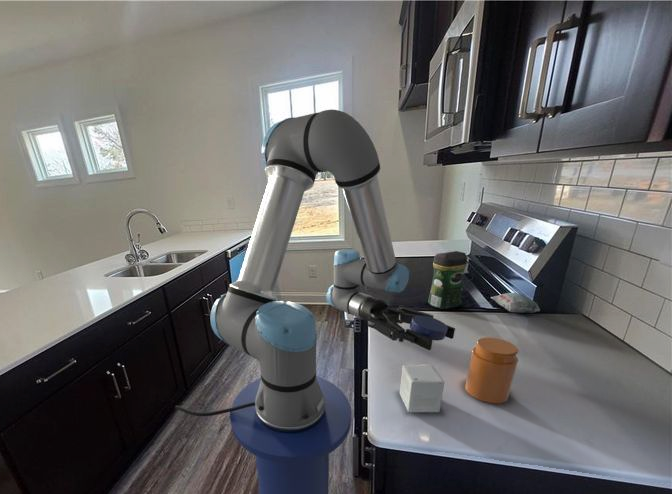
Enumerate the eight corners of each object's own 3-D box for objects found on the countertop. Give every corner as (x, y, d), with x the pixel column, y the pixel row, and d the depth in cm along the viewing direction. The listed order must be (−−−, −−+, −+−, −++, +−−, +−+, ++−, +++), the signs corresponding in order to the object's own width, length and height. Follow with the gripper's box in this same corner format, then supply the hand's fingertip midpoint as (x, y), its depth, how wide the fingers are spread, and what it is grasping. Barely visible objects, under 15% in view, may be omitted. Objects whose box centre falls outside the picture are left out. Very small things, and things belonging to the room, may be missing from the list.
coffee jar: (445, 299, 114) (453, 248, 107) (464, 306, 106) (473, 252, 100) (423, 303, 111) (429, 251, 104) (440, 311, 104) (448, 256, 97)
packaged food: (508, 317, 98) (512, 302, 96) (489, 302, 109) (492, 289, 107) (539, 317, 96) (543, 302, 95) (516, 302, 107) (520, 289, 105)
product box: (440, 413, 62) (445, 382, 59) (407, 413, 62) (411, 382, 60) (428, 393, 67) (432, 363, 65) (398, 393, 68) (402, 364, 65)
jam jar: (492, 408, 62) (504, 359, 58) (457, 387, 69) (465, 341, 64) (516, 396, 65) (529, 348, 61) (480, 376, 71) (490, 332, 67)
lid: (442, 329, 80) (445, 320, 79) (447, 344, 73) (450, 334, 72) (408, 321, 82) (411, 312, 81) (410, 335, 75) (413, 325, 74)
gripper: (391, 311, 99) (465, 339, 80) (341, 330, 89) (411, 367, 71) (393, 288, 96) (470, 312, 78) (342, 305, 86) (415, 338, 68)
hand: (442, 338), depth 74 cm, fingers closed on lid, 8 cm apart
